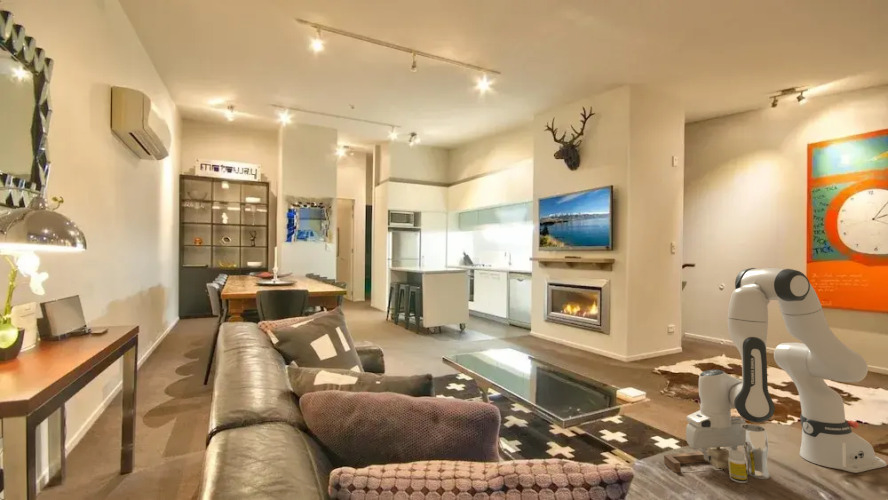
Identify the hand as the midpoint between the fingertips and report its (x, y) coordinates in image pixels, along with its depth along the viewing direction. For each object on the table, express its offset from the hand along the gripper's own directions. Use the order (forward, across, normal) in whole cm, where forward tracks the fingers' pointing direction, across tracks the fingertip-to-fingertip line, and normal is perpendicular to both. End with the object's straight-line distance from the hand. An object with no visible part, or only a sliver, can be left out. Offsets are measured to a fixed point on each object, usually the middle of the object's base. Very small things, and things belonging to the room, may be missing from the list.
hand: (719, 459), depth 138 cm
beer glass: (+2, -7, +8) cm, 11 cm away
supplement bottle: (+2, +1, +10) cm, 10 cm away
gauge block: (+2, 0, 0) cm, 2 cm away
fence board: (+2, +8, -1) cm, 8 cm away
